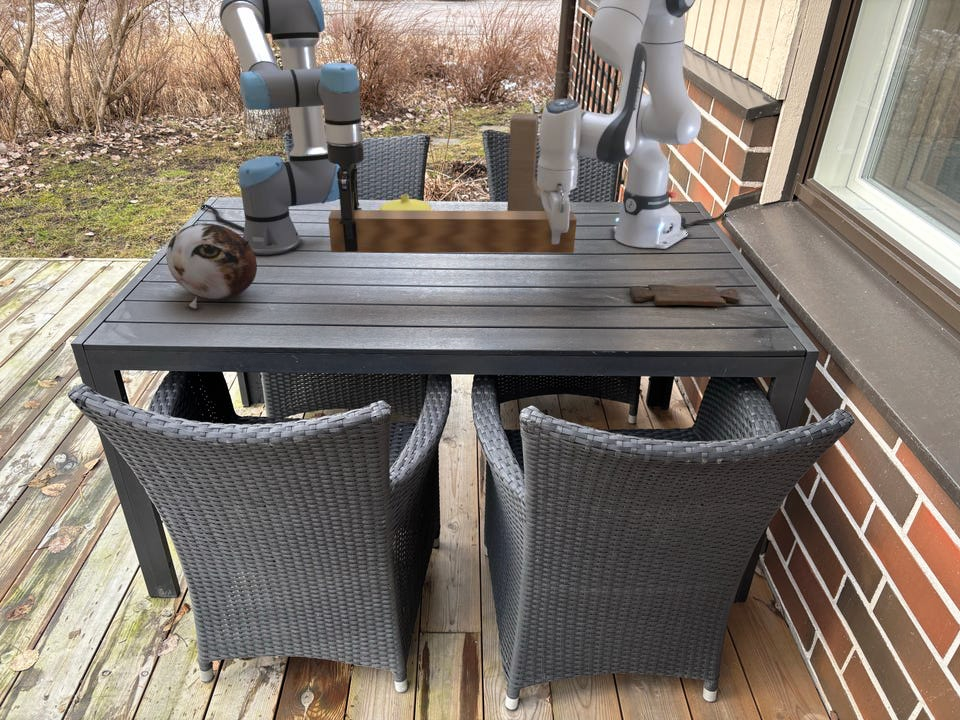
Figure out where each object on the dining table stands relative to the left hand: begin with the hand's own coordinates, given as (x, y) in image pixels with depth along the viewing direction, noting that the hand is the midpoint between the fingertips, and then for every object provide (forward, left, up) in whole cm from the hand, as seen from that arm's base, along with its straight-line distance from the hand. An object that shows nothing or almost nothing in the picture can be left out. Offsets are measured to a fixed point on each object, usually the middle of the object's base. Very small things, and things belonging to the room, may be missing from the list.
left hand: (353, 245), depth 163 cm
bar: (+19, +13, -1) cm, 23 cm away
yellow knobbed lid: (-24, +49, -13) cm, 56 cm away
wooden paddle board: (+65, +44, -13) cm, 80 cm away
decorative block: (+7, +72, -13) cm, 74 cm away
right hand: (+37, +27, +2) cm, 46 cm away
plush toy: (-27, -18, -13) cm, 35 cm away
